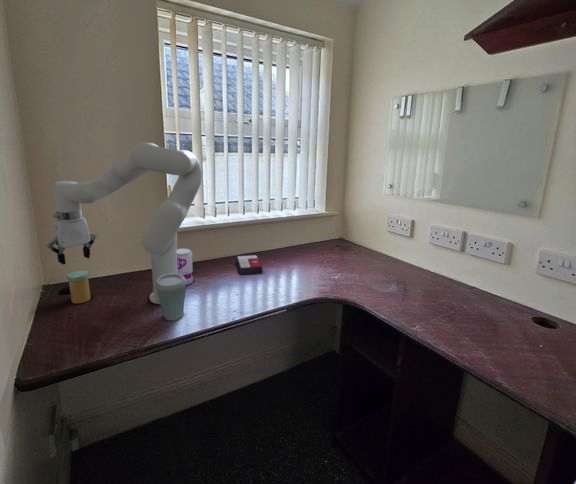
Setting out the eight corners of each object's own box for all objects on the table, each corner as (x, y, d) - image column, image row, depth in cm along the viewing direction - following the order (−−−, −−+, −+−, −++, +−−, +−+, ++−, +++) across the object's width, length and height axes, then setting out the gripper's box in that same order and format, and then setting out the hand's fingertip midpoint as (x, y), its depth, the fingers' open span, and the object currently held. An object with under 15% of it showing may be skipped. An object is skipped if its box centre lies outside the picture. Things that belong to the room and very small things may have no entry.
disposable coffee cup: (192, 318, 114) (190, 280, 110) (161, 327, 108) (158, 287, 104) (183, 306, 123) (181, 269, 119) (153, 313, 117) (150, 275, 113)
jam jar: (93, 299, 124) (89, 275, 122) (73, 305, 120) (70, 279, 117) (87, 294, 129) (84, 270, 126) (69, 299, 124) (65, 274, 121)
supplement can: (187, 287, 138) (186, 255, 134) (170, 285, 140) (168, 252, 136) (196, 279, 146) (195, 249, 142) (179, 277, 147) (178, 247, 143)
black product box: (240, 267, 153) (236, 255, 166) (240, 275, 154) (236, 262, 168) (262, 266, 156) (257, 254, 169) (262, 273, 157) (256, 261, 171)
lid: (91, 278, 122) (90, 274, 122) (70, 283, 117) (69, 279, 117) (85, 272, 127) (85, 269, 126) (65, 277, 122) (64, 273, 121)
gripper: (46, 221, 107) (52, 269, 111) (99, 213, 121) (103, 256, 125) (36, 217, 111) (43, 264, 115) (89, 210, 125) (94, 252, 129)
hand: (75, 260), depth 120 cm, fingers open, 7 cm apart
